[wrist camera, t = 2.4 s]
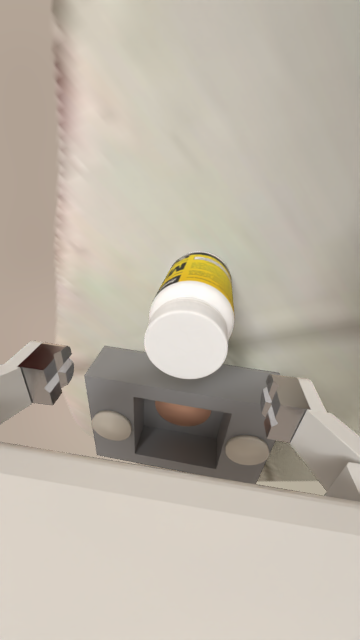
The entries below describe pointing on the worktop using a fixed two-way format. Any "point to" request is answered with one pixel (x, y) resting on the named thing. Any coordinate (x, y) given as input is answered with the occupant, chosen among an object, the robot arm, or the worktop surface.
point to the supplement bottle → (191, 317)
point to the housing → (178, 416)
